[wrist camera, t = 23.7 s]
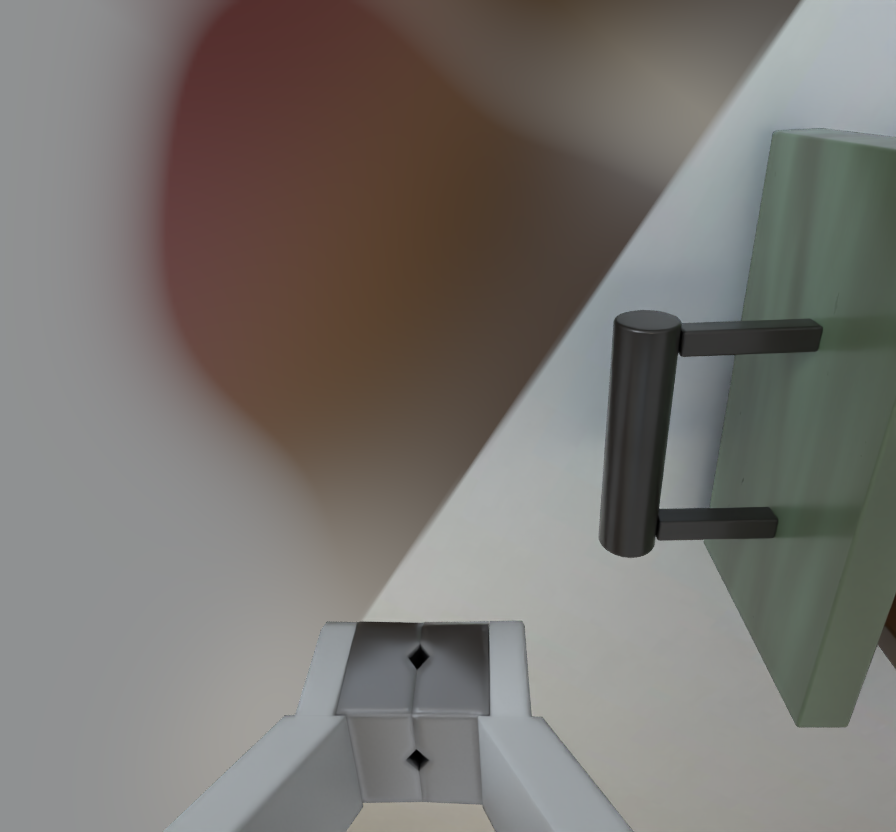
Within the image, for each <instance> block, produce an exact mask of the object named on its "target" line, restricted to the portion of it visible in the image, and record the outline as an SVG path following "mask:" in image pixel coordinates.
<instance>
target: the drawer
mask: <svg viewBox="0 0 896 832" xmlns="http://www.w3.org/2000/svg"><path fill="white" fill-rule="evenodd" d="M678 353H679V354H680V356H682V357H690V356H718V355H735V360H734V366H733V372H732V378H731V384H730V390H729V396H728V401H727V407H726V413H725V419H724V425H723V431H722V437H721V443H720V449H719V455H718V461H717V467H716V473H715V479H714V484H713V490H712V496H711V502H710V508H685V509H659V504H660V496H661V488H662V480H663V472H664V463H665V455H666V447H667V439H668V431H669V423H670V415H671V407H672V399H673V390H674V382H675V374H676V366H677V358H678ZM655 537H657V539H658V540H660V541H661V540H704V544H705V546H706V548H707V550H708V552H709V554H710V556H711V558H712V560H713V562H714V564H715V566H716V568H717V570H718V572H719V574H720V576H721V578H722V580H723V582H724V584H725V586H726V588H727V590H728V592H729V594H730V596H731V598H732V600H733V602H734V604H735V606H736V607H737V609H738V611H739V613H740V615H741V617H742V619H743V621H744V623H745V625H746V627H747V629H748V631H749V633H750V635H751V637H752V639H753V641H754V643H755V645H756V647H757V649H758V651H759V653H760V655H761V657H762V659H763V661H764V663H765V665H766V667H767V669H768V671H769V673H770V675H771V677H772V679H773V681H774V683H775V685H776V687H777V689H778V691H779V693H780V695H781V697H782V699H783V701H784V703H785V705H786V707H787V709H788V711H789V713H790V715H791V717H792V719H793V721H794V723H795V725H796V726H797V727H847V726H848V724H849V721H850V718H851V716H852V713H853V710H854V707H855V705H856V702H857V699H858V696H859V694H860V691H861V688H862V685H863V683H864V680H865V677H866V674H867V672H868V669H869V666H870V663H871V661H872V658H873V655H874V652H875V650H876V647H877V644H878V646H879V647H880V648H881V650H882V651H883V653H884V654H885V655H886V657H887V658H888V659H889V661H890V662H891V664H892V665H893V666H894V668H895V669H896V137H890V136H882V135H874V134H865V133H857V132H849V131H840V130H832V129H824V128H815V129H798V130H780V131H775V132H773V134H772V140H771V146H770V152H769V158H768V164H767V170H766V176H765V182H764V188H763V194H762V200H761V206H760V212H759V218H758V223H757V229H756V235H755V241H754V247H753V253H752V259H751V265H750V271H749V277H748V283H747V289H746V295H745V301H744V307H743V312H742V318H741V321H731V322H705V323H681V321H680V319H679V318H678V317H676V316H674V315H671V314H668V313H665V312H660V311H651V310H638V311H630V312H625V313H622V314H620V315H618V316H617V317H616V318H615V320H614V325H613V340H612V354H611V368H610V382H609V396H608V410H607V424H606V439H605V453H604V467H603V481H602V495H601V509H600V524H599V541H600V543H601V545H602V546H603V547H604V548H605V549H606V550H607V551H609V552H611V553H613V554H615V555H618V556H621V557H628V558H634V557H641V556H644V555H646V554H648V553H649V552H650V551H651V550H652V549H653V547H654V544H655Z"/></svg>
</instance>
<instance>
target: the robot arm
mask: <svg viewBox="0 0 896 832" xmlns="http://www.w3.org/2000/svg"><path fill="white" fill-rule="evenodd" d="M376 802H437V803H459V804H481V805H483V809H484V811H485V813H486V815H487V816H488V818H489V820H490V822H491V824H492V826H493V828H494V830H495V831H496V832H634V831H633V830H632V829H631V828H630V826H629V825H628V824H627V823H626V821H625V820H624V819H623V817H622V816H621V815H620V814H619V812H618V811H617V810H616V809H615V807H614V806H613V805H612V804H611V802H610V801H609V800H608V799H607V797H606V796H605V795H604V794H603V792H602V791H601V790H600V789H599V787H598V786H597V785H596V784H595V782H594V781H593V780H592V779H591V777H590V776H589V775H588V774H587V772H586V771H585V770H584V769H583V767H582V766H581V765H580V764H579V762H578V761H577V760H576V759H575V757H574V756H573V755H572V754H571V752H570V751H569V750H568V749H567V747H566V746H565V745H564V744H563V742H562V741H561V740H560V739H559V737H558V736H557V735H556V734H555V732H554V731H553V730H552V729H551V727H550V726H549V725H548V724H547V722H546V721H545V720H544V719H543V717H532V715H531V702H530V689H529V677H528V664H527V651H526V638H525V626H524V624H523V622H522V621H490V623H489V621H479V622H424V623H403V622H326V624H325V625H324V626H323V628H322V630H321V632H320V635H319V638H318V642H317V645H316V648H315V651H314V655H313V658H312V661H311V665H310V668H309V671H308V675H307V678H306V681H305V684H304V688H303V691H302V694H301V698H300V701H299V704H298V707H297V711H296V714H295V715H285V716H284V717H283V718H282V719H281V720H280V721H279V722H278V723H277V724H275V725H274V726H273V727H272V728H271V729H270V730H269V731H268V732H267V733H266V734H265V735H264V736H263V737H262V738H261V739H260V740H259V741H257V743H255V744H254V745H253V746H252V747H251V748H250V749H249V750H248V751H247V752H246V753H245V754H244V755H243V756H242V757H241V758H240V759H239V760H238V761H236V762H235V763H234V764H233V765H232V766H231V767H230V768H229V769H228V770H227V771H226V772H225V773H224V774H223V775H222V776H221V777H220V778H219V779H217V781H216V782H214V783H213V784H212V785H211V786H210V787H209V788H208V789H207V790H206V791H205V792H204V793H203V794H202V795H201V796H200V797H199V798H198V799H196V801H194V802H193V803H192V804H191V805H190V806H189V807H188V808H187V809H186V810H185V811H184V812H183V813H182V814H181V815H180V816H179V817H178V818H177V819H175V820H174V821H173V822H172V823H171V824H170V825H169V826H168V827H167V828H166V829H165V830H164V831H163V832H346V831H347V829H348V828H349V826H350V825H351V824H352V822H353V821H354V819H355V818H356V816H357V815H358V813H359V812H360V811H361V809H362V808H363V804H362V803H376Z"/></svg>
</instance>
